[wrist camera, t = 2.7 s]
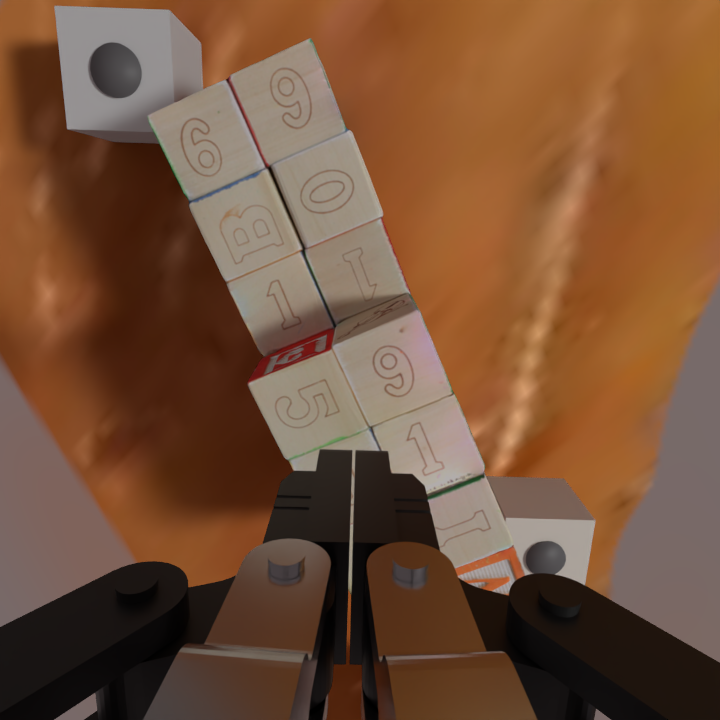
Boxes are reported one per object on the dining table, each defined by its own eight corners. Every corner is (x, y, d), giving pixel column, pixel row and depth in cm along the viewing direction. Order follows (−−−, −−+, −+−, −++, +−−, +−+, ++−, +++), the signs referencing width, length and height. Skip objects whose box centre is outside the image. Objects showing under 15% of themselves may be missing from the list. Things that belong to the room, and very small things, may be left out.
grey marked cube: (105, 40, 26) (52, 4, 21) (201, 43, 26) (167, 8, 21) (114, 142, 27) (65, 128, 22) (205, 145, 27) (174, 132, 22)
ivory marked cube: (486, 475, 32) (506, 519, 27) (563, 478, 32) (596, 522, 27) (479, 543, 33) (497, 596, 28) (553, 545, 33) (583, 598, 28)
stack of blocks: (214, 143, 27) (100, 91, 15) (331, 91, 26) (307, -7, 14) (374, 502, 32) (382, 672, 20) (475, 466, 32) (544, 620, 20)
